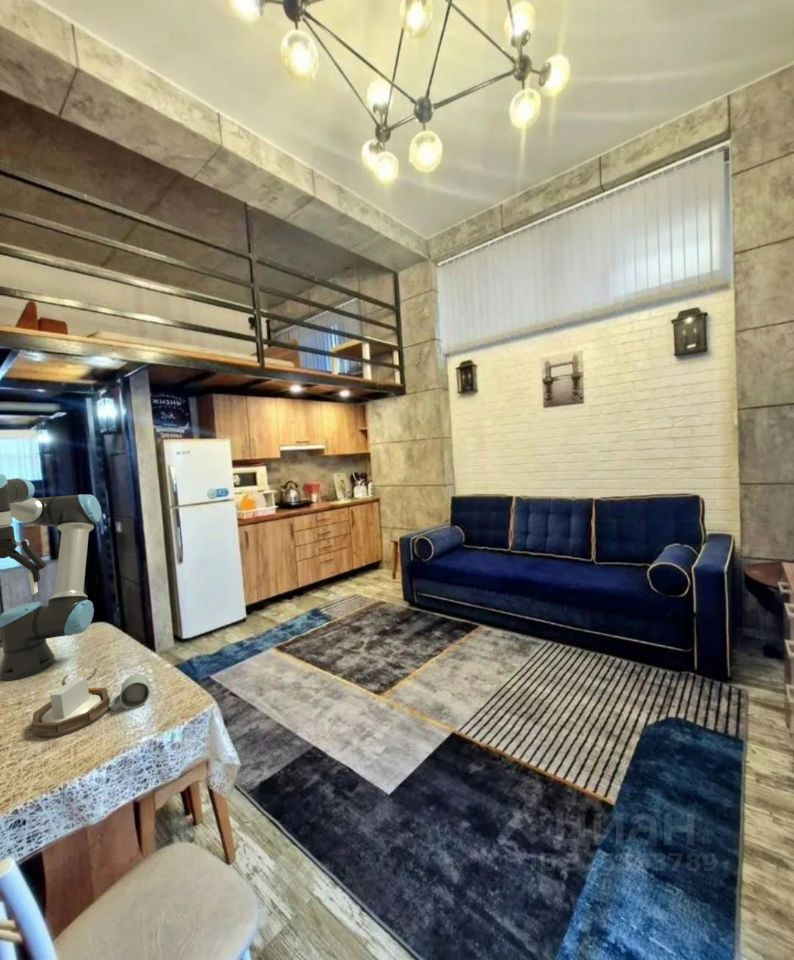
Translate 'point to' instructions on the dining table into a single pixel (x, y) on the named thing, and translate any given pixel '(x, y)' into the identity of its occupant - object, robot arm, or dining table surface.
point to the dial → (70, 701)
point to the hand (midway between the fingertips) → (6, 597)
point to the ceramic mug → (132, 693)
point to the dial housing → (73, 723)
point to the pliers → (87, 678)
